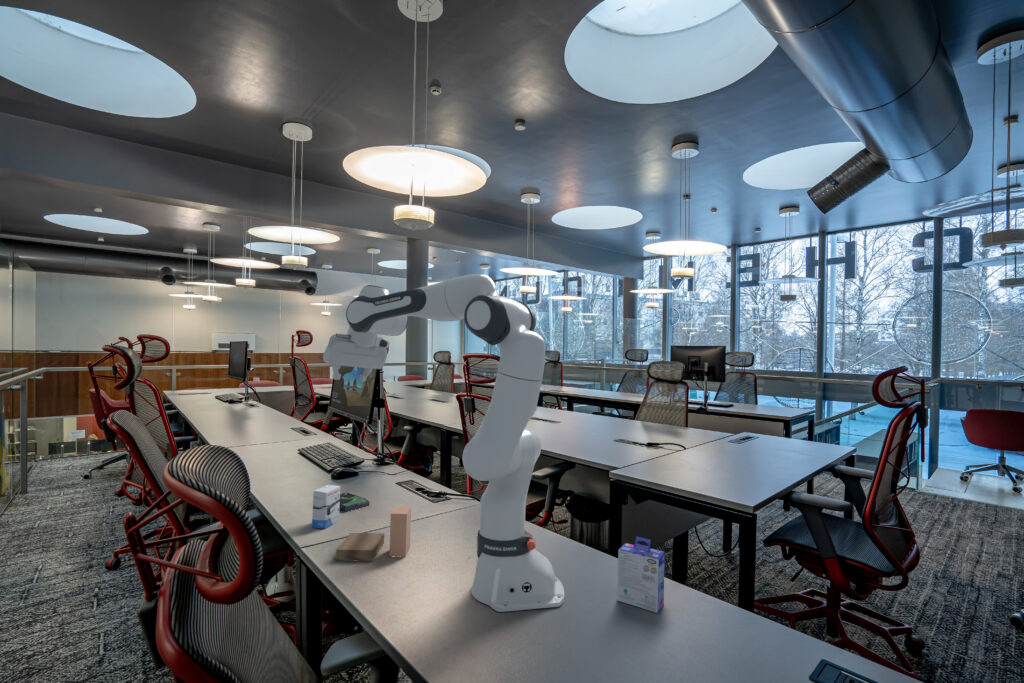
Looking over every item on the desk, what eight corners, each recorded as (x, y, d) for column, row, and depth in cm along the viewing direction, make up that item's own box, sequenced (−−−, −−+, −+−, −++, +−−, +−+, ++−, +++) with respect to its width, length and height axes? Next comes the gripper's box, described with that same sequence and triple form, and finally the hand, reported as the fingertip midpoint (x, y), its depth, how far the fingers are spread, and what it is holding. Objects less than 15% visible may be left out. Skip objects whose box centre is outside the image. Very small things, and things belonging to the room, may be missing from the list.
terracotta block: (409, 548, 137) (411, 507, 137) (405, 557, 131) (406, 514, 131) (394, 548, 137) (395, 506, 137) (389, 557, 131) (390, 513, 131)
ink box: (324, 529, 150) (326, 492, 150) (311, 528, 151) (312, 491, 151) (339, 520, 158) (341, 485, 159) (326, 519, 159) (327, 484, 160)
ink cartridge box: (665, 603, 110) (666, 541, 110) (658, 614, 105) (659, 549, 105) (624, 591, 115) (625, 531, 115) (616, 601, 110) (617, 539, 111)
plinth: (384, 543, 140) (384, 533, 140) (372, 561, 128) (373, 550, 128) (350, 543, 140) (350, 532, 140) (336, 560, 128) (336, 549, 128)
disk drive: (321, 505, 175) (345, 513, 166) (322, 498, 175) (346, 505, 166) (346, 499, 183) (370, 506, 174) (346, 492, 183) (370, 499, 174)
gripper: (338, 335, 132) (324, 381, 133) (393, 343, 148) (381, 384, 149) (326, 329, 135) (313, 374, 136) (381, 338, 152) (369, 378, 153)
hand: (349, 380), depth 143 cm, fingers open, 8 cm apart
